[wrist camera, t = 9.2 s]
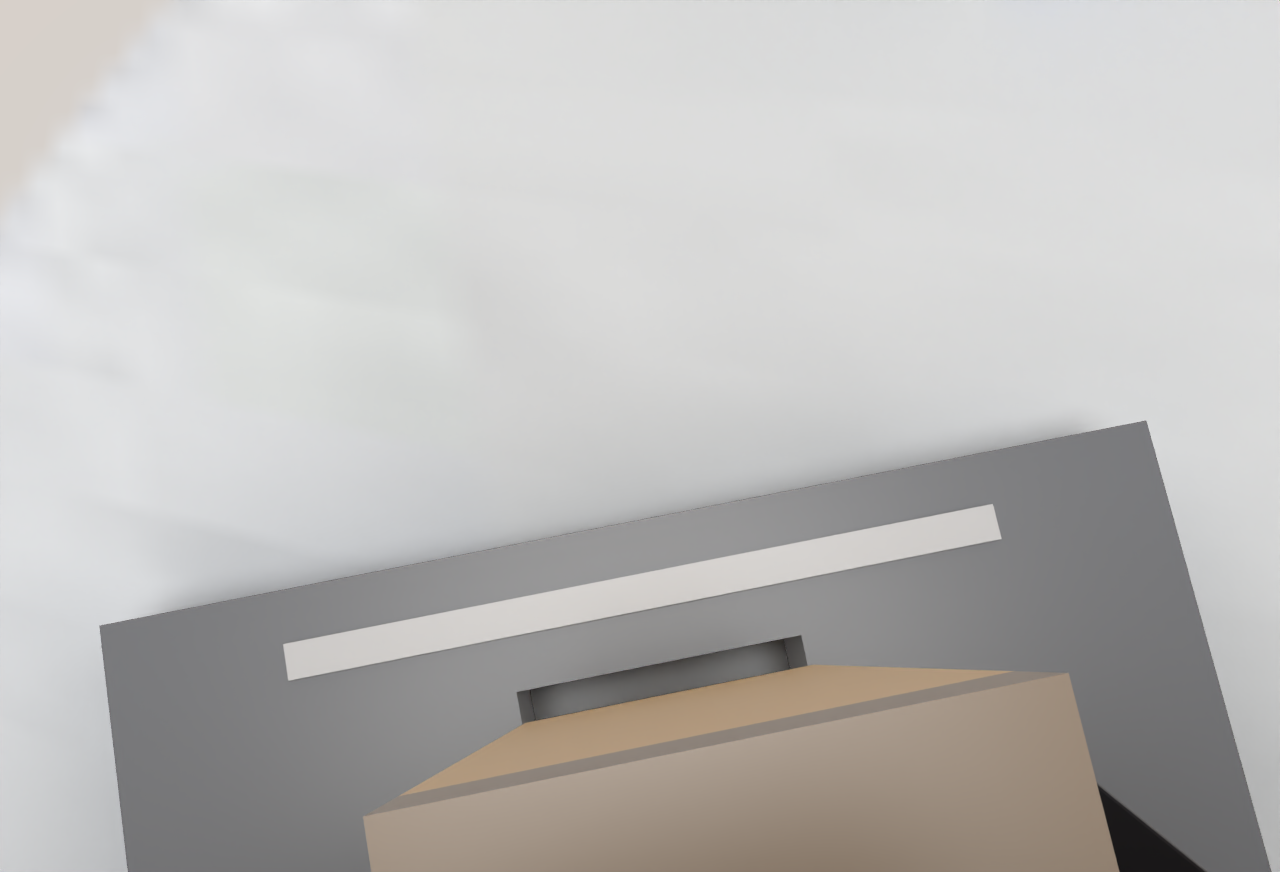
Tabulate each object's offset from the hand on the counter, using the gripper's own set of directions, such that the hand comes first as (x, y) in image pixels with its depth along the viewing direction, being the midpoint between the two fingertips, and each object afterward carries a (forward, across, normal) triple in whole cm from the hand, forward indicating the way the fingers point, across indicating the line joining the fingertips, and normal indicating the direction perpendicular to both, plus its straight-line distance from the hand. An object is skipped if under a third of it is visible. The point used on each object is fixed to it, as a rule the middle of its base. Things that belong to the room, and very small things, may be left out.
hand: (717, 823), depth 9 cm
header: (+9, 0, +10) cm, 13 cm away
